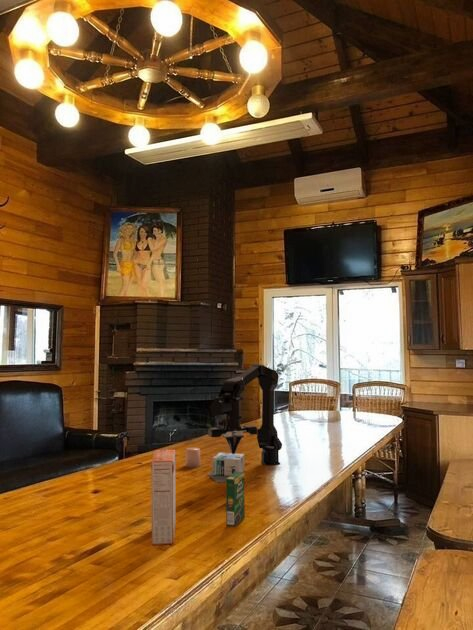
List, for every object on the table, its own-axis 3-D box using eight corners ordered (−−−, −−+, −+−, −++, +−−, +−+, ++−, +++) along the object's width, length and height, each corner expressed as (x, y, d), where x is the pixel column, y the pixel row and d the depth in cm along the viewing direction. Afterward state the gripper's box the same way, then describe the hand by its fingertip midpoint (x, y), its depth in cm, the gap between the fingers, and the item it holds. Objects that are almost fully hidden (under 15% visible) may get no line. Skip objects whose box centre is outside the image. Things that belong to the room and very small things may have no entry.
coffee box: (235, 527, 134) (234, 478, 135) (225, 526, 135) (225, 478, 136) (245, 518, 141) (245, 472, 142) (236, 517, 142) (235, 471, 143)
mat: (233, 471, 194) (233, 470, 194) (245, 479, 182) (245, 479, 182) (206, 474, 191) (206, 473, 191) (217, 482, 179) (217, 481, 179)
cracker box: (154, 525, 136) (154, 449, 137) (176, 524, 136) (176, 448, 138) (149, 545, 122) (150, 460, 123) (173, 545, 122) (174, 460, 124)
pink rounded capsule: (197, 463, 209) (197, 447, 209) (201, 466, 203) (201, 449, 203) (184, 464, 206) (184, 448, 207) (187, 468, 201) (187, 450, 201)
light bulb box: (239, 459, 186) (212, 457, 188) (239, 477, 185) (211, 475, 187) (244, 453, 196) (218, 451, 198) (244, 470, 196) (218, 468, 198)
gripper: (247, 409, 200) (247, 448, 199) (203, 411, 194) (203, 451, 192) (258, 412, 189) (258, 453, 188) (212, 415, 183) (212, 457, 182)
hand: (233, 453), depth 188 cm, fingers closed
